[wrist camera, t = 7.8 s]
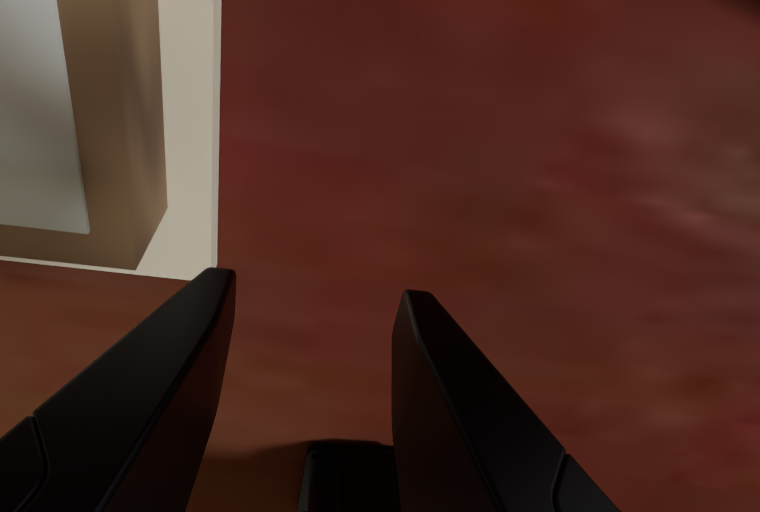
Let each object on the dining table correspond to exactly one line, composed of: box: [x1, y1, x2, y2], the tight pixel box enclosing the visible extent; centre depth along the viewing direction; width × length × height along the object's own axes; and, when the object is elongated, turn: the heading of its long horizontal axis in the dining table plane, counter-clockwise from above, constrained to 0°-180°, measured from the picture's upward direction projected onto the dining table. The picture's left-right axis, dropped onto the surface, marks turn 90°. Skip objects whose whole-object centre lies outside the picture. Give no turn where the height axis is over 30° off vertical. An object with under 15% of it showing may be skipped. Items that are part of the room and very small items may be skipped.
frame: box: [0, 0, 168, 270], centre depth 14 cm, size 10×6×4 cm, turn 169°
